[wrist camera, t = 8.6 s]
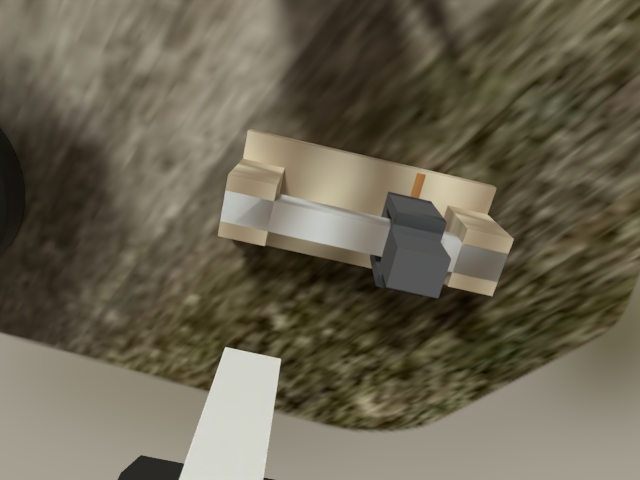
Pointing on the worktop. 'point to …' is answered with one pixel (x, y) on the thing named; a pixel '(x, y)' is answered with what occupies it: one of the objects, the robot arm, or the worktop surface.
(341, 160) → the rail
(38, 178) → the worktop surface
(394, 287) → the dark grey sliding collar
